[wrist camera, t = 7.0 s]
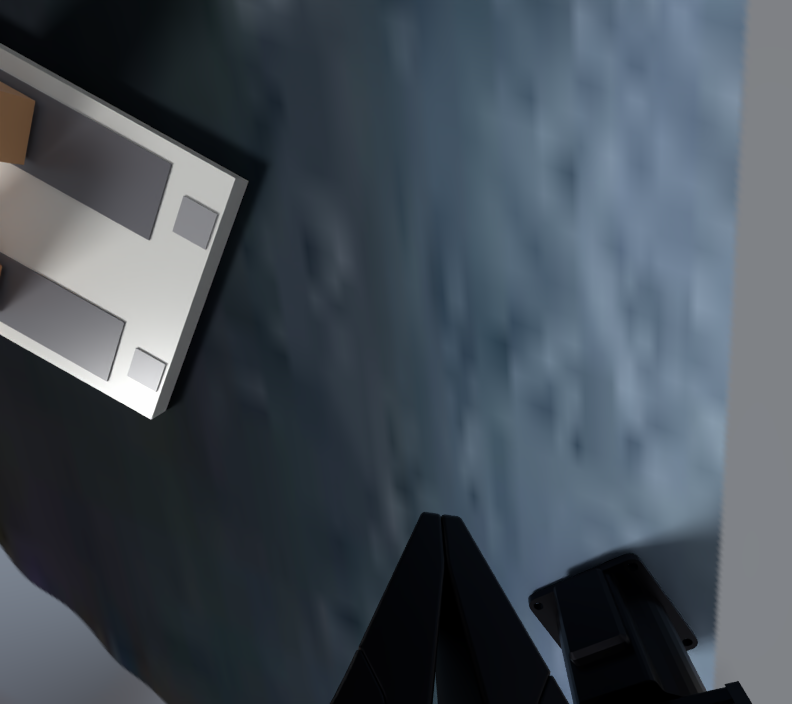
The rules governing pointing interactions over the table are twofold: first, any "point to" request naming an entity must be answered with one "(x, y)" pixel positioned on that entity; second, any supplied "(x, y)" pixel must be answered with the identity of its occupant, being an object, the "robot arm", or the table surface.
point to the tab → (14, 124)
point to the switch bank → (107, 240)
